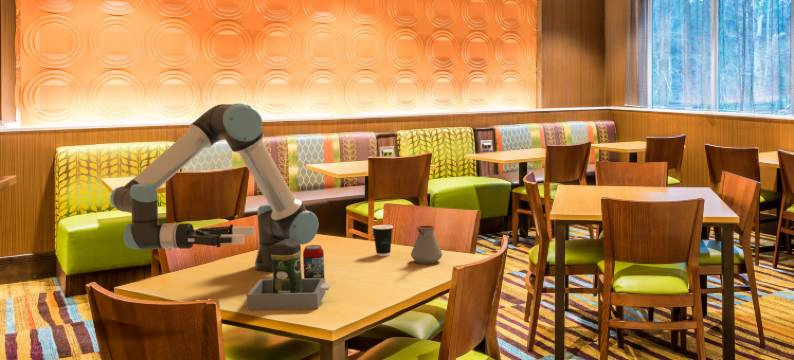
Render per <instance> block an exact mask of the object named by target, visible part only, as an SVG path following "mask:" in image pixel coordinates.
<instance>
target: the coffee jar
mask: <svg viewBox="0 0 794 360" xmlns="http://www.w3.org/2000/svg"><path fill="white" fill-rule="evenodd" d="M301 255H302V247H301V244H300V242H299V241H297V239H284V240H283V241H281V242H278V243H276V244H274V245H272V246H271V258H272V263H273V271H272V279H273V293H303V285H302V279H303V277H302V265H301V264H302V261H301V260H302V256H301Z"/></svg>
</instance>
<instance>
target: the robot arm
mask: <svg viewBox="0 0 794 360" xmlns="http://www.w3.org/2000/svg"><path fill="white" fill-rule="evenodd" d="M264 136H265V133H264V132H263V119H262V117H261V114H260V112H259V111H258V110H257V109H256V108H254V107H253V106H252V105H248V104H244V103H232V104H230V103H229V104H228V103H227V104H226V103H221V104H217V105H215V106H212V107H211V108H209V109H208V110H207V111H205V112H203V114H201V115H200V116H199V117H198V118H197V119H196V120H194V121H193V122H192V123H190V125H188V131H186V132H185V133H184V134H183V135H181V137H179V139H177V140H176V141H175V142H174V143H173V144H171V145H170V146H169V147H168V148H167V149H166V150H164V151H163V152H162V153H161V154H160V155H159V156H158V157H156V159H154V160H153V161H152V162H151V163H149V164H148V165H147V166H146V167H144V169H143V170H142V171H140V172H139V173H138V174H137V175H136V176H135V177H133V178H132V179H131V180H129V181H128V182H127V183H126V184H125V185H122V186H119V187H116V188H114V189H113V190H112V192H111V194H110V196H109V198H110V199H109V200H110V203H111V204H110V205H112V207H113V208H115V209H116V210H118V211H120V212H125V213H130V214H131V223H128V224H127V225H126V226H125V227H124V230H123V233H124V234H123V242H124V244H125V246H126V248H128V249H135V250H160V249H161V250H162V249H164V250H166V249H167V251H169V252H170V251H172V249H174V250H175V249H180V250H181V249H186V250H187V249H188V250H189V249H191V248H193V246H194V245H200V246H208V247H209V246H211V247H216V248H221V245H244V244H245V237H254V236H255V226H234V224H229V225H227V226H226V225H225V226H213V227H200V228H198V229H196V230H195V229H194V226H193V224H192V223H190V222H189V223H188V222H187V223H186V222H185V223H183V222H182V223H176V222H174V223H173V222H171V223H170V222H169V223H159V208H158V207H159V205H158V199H159V196H158V190H159V188H161V187H162V186H163V185H164V184H166V182H168V181H169V180H171V178H172V177H173V176H175V175H176V174H177V173H178V172H179V171H180V170H181V169H183V167H185V166H186V164H188V163H189V162H190V161H192V159H194V158H195V157H196V156H197V155H198V154H199V153H201V152H202V151H203V150H204V149H210V148H211V147H212V146H213V145H215V144H216V143H218V142H219V141H220V142H221V141H222V140H224V141H226V142H227V144H228V146H229V148H230V149H231V151H232V152H233V153H237V154H239V156H240V157H241V158H242V161H243V162H244V165H245V166H246V168H247V169H248V171H249V172H250V174H251V176H252V177H253V180H254V182H255V183H256V185H257V186H258V188H259V190H260V192H261V193H262V195H263V196H264V199H266V202H267V203H268V204H263V205H260V206H259V207H258V208H257V227H258V229H257V230H258V231H257V232H258V250H257V254H256V257H255V261H254V266H255V267H254V268H255V270H257V271H262V272H263V271H264V272H273V263H272V258H271V246H272V245H274V244H276V243H278V242H281V241H283V240H284V239H297V241H299V242H300V245H306V244H309V243H310V242H312V241H313V240H314V239H315V237H316V236H317V233H318V229H319V220H318V219H319V218H318V217H317V215H316V214H315V213H314V212H312V211H310V210H307V209H306V206H305V205H304V203H303V202H302V199H300V198H297V197H294V195H293V192H292V191H291V189H290V187H289V185H288V183H287V182H286V180H285V178H284V177H283V175H282V172H281V171H280V170H279V168H278V165H277V164H276V162H275V161H274V158H273V157H272V155H271V154H270V152H269V150H268V148H267V146H266V145H265V142H264V141H263V139H264Z"/></svg>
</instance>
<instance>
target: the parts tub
mask: <svg viewBox="0 0 794 360" xmlns="http://www.w3.org/2000/svg"><path fill="white" fill-rule="evenodd" d="M302 285H303V293H273V278H265V279H264V278H261V279H259V280H258V281H257V282H256V283H255V285H254V286H253V287H252V288H251V289H250V290H249V292H248V293H247V294H246V301H247V302H246V303H247V311H263V310H264V311H266V310H267V311H268V310H269V311H271V310H272V311H273V310H318V309H319V308H320V306H321V304H322V300H323V299H324V297H325V294H326V291H329V290H330V288H331V283H328V282H327V283H326V278H325V277H324V278H305V279H304V278H302Z"/></svg>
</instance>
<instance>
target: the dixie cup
mask: <svg viewBox="0 0 794 360" xmlns="http://www.w3.org/2000/svg"><path fill="white" fill-rule="evenodd" d="M371 228H372V230H373V238H374V245H375V246H374V247H375V252H376V256H378V255H379V257H389V256H390V253H391V249H392V248H391V247H392V235H393V228H394V226H393V225H391V224H379V225H373V226H371ZM388 255H389V256H388Z"/></svg>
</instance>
